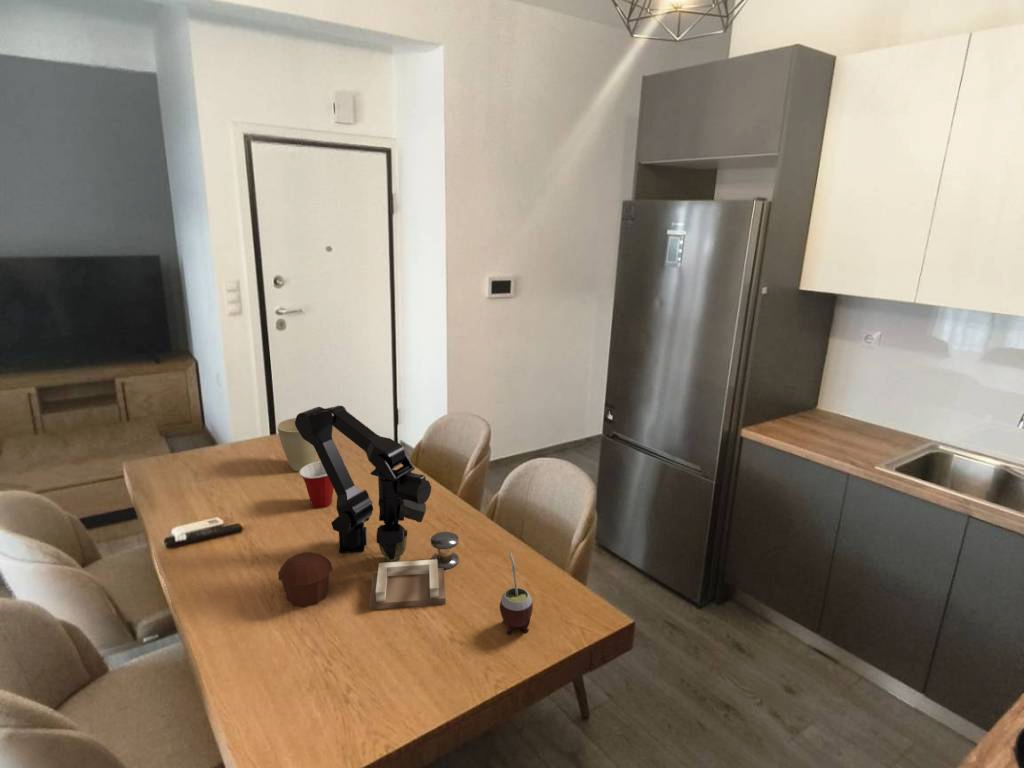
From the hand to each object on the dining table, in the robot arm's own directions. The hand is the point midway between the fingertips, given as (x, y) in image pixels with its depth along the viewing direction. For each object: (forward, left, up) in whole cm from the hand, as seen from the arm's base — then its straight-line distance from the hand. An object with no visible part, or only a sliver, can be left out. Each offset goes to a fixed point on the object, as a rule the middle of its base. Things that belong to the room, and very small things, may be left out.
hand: (392, 549), depth 148 cm
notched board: (+4, -13, -3) cm, 14 cm away
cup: (0, 0, -4) cm, 4 cm away
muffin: (-19, -12, -4) cm, 23 cm away
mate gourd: (+27, -28, -4) cm, 39 cm away
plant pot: (-33, +61, -4) cm, 69 cm away
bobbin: (+13, -2, -3) cm, 14 cm away
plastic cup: (-23, +33, -4) cm, 40 cm away
